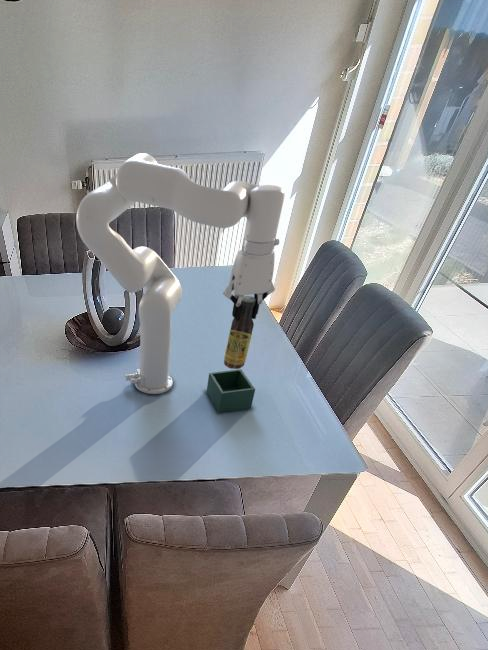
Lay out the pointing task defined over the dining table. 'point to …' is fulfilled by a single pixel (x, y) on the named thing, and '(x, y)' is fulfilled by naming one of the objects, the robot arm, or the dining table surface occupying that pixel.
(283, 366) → the dining table surface
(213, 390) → the dark green storage bin
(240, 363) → the sauce bottle
